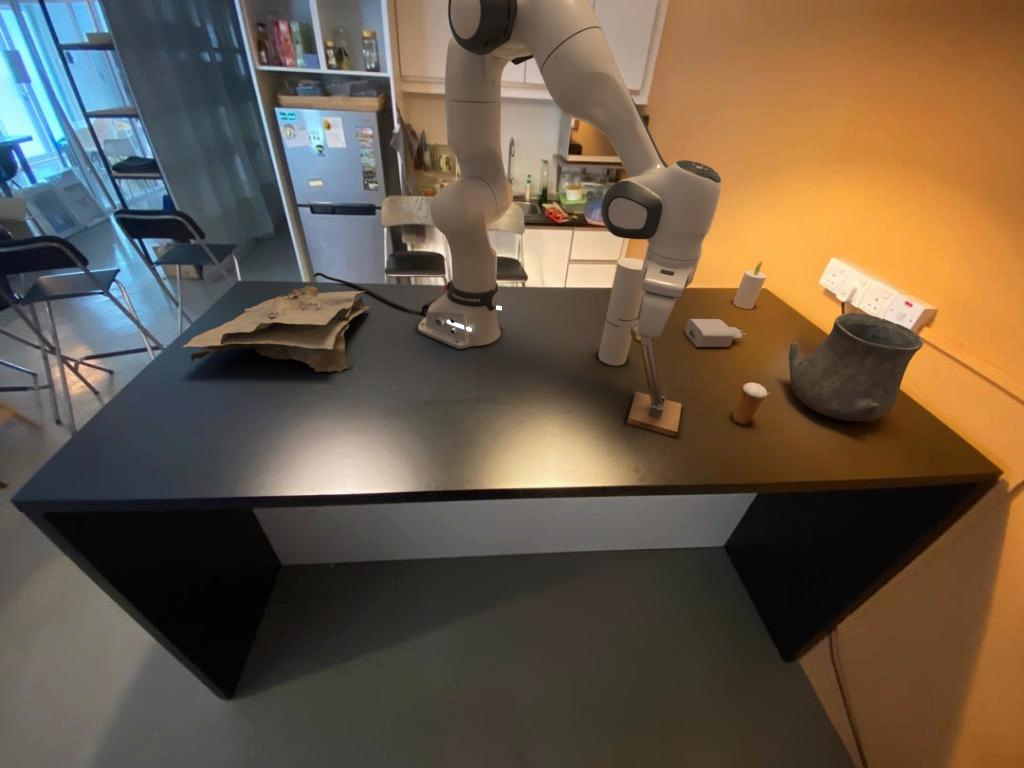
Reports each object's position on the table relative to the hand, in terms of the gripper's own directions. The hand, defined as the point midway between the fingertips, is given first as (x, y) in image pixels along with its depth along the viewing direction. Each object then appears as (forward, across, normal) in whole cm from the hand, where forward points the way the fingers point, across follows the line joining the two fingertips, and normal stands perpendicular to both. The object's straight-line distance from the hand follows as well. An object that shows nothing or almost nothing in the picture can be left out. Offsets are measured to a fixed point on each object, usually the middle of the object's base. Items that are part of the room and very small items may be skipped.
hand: (648, 336), depth 82 cm
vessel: (+18, -23, +44) cm, 53 cm away
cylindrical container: (+19, -19, -7) cm, 28 cm away
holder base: (+18, 0, +6) cm, 19 cm away
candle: (+18, -72, +26) cm, 79 cm away
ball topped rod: (+8, 0, 0) cm, 8 cm away
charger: (+18, -42, +18) cm, 49 cm away
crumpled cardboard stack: (+20, +11, -82) cm, 85 cm away
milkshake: (+18, -7, +24) cm, 31 cm away
